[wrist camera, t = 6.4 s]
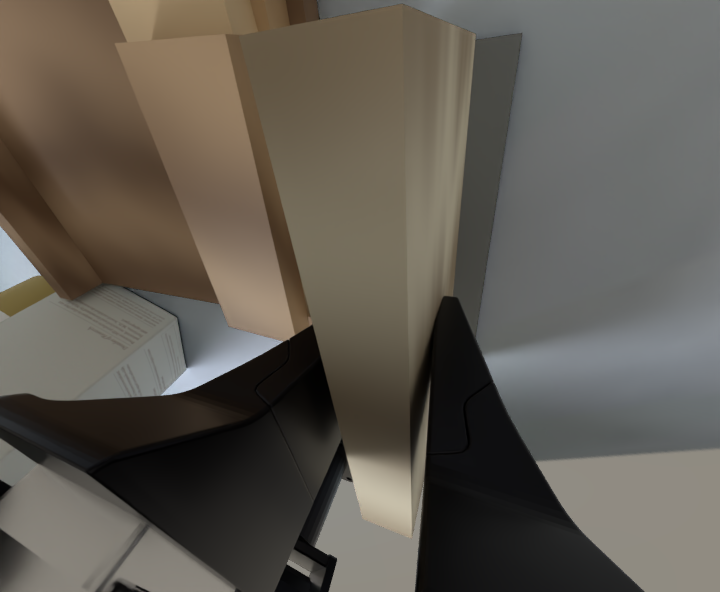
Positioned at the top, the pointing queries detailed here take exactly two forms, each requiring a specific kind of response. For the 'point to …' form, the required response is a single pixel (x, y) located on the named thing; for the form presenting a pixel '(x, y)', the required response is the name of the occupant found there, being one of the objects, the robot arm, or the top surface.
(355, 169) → the birch panel
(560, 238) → the top surface
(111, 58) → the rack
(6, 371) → the supplement box
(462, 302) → the mat
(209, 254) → the offcut stack
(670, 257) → the top surface
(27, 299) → the log
